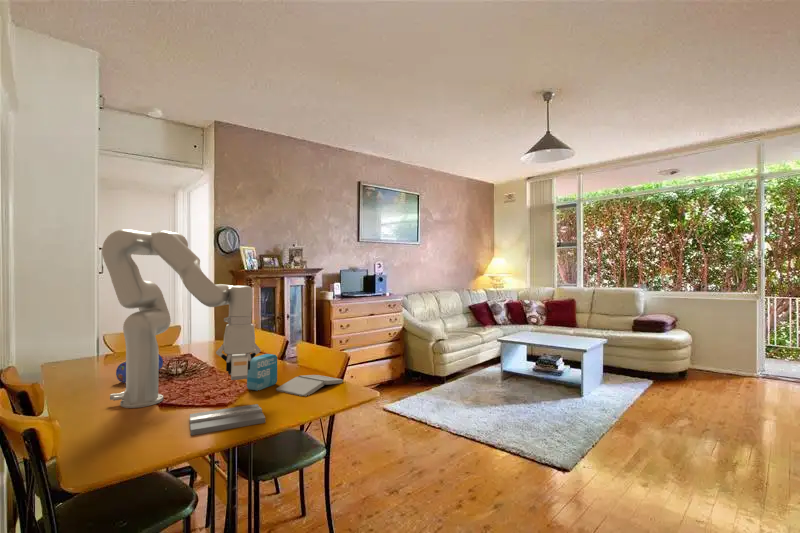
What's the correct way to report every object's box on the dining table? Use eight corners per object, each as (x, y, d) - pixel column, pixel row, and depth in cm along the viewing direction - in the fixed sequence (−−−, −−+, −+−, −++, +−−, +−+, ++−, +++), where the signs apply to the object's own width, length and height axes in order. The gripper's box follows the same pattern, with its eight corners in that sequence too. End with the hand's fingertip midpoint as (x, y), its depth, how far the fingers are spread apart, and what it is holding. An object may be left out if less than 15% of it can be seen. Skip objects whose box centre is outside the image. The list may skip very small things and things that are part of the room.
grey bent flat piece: (304, 398, 147) (304, 388, 147) (275, 392, 155) (275, 382, 155) (343, 383, 167) (343, 374, 167) (316, 378, 174) (316, 369, 174)
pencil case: (145, 370, 185) (145, 349, 185) (165, 370, 185) (165, 349, 185) (114, 384, 163) (114, 360, 163) (136, 384, 163) (136, 360, 163)
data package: (255, 391, 153) (255, 360, 153) (246, 390, 155) (246, 358, 155) (277, 383, 164) (277, 354, 164) (268, 382, 166) (268, 353, 166)
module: (231, 380, 137) (232, 359, 137) (228, 373, 145) (229, 353, 145) (247, 379, 139) (248, 358, 139) (243, 372, 148) (244, 352, 148)
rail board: (190, 435, 113) (190, 427, 113) (189, 418, 125) (189, 411, 125) (265, 422, 122) (265, 414, 122) (257, 408, 135) (257, 401, 135)
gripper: (214, 322, 135) (212, 377, 135) (267, 321, 143) (265, 372, 143) (212, 320, 142) (210, 372, 142) (263, 318, 150) (261, 368, 150)
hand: (238, 371), depth 142 cm, fingers closed on module, 5 cm apart
